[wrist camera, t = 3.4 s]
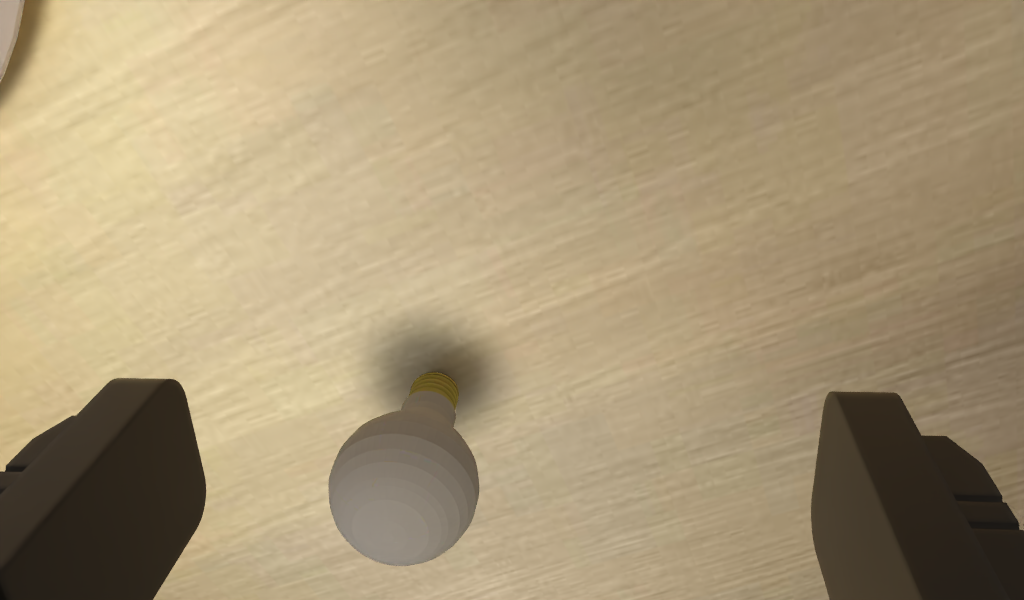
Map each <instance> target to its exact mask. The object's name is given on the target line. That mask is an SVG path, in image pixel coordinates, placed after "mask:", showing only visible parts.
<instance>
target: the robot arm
mask: <svg viewBox="0 0 1024 600" xmlns="http://www.w3.org/2000/svg"><path fill="white" fill-rule="evenodd" d="M205 499H206V482H205V476H204V471H203V467H202V463H201V458H200V454H199V450H198V445H197V441H196V437H195V433H194V428H193V424H192V420H191V415H190V411H189V407H188V403H187V398H186V395H185V392H184V390H183V388H182V386H181V384H180V383H179V382H178V381H176V380H174V379H136V378H117V379H113V380H111V381H110V382H109V383H108V384H106V386H105V387H104V388H103V389H102V390H101V391H100V392H99V393H98V394H97V395H96V396H95V397H94V398H93V399H92V400H91V401H90V402H89V403H88V404H87V405H86V406H85V407H84V408H83V409H82V410H81V411H80V412H79V413H78V415H77V416H71V417H69V418H67V419H66V420H64V421H62V422H61V423H59V424H57V425H56V426H54V427H52V428H50V429H49V430H47V431H45V432H44V433H42V434H40V435H39V436H37V437H35V438H34V439H32V440H31V441H30V442H29V443H28V444H27V445H26V446H25V447H24V448H23V449H22V450H21V451H20V452H19V453H18V454H17V455H16V456H15V457H14V458H13V459H12V460H11V461H10V462H9V463H8V464H7V465H6V470H5V472H0V600H153V598H154V597H155V595H156V594H157V592H158V590H159V589H160V587H161V585H162V584H163V582H164V581H165V579H166V577H167V576H168V574H169V573H170V571H171V569H172V568H173V566H174V565H175V563H176V561H177V560H178V558H179V556H180V555H181V553H182V552H183V550H184V548H185V547H186V545H187V544H188V542H189V540H190V539H191V537H192V536H193V534H194V532H195V531H196V529H197V527H198V525H199V523H200V521H201V518H202V515H203V511H204V506H205ZM811 522H812V534H813V541H814V546H815V551H816V554H817V558H818V561H819V564H820V568H821V571H822V575H823V578H824V581H825V585H826V588H827V591H828V595H829V598H830V600H1024V531H1023V530H1019V523H1018V521H1017V519H1016V518H1015V516H1014V514H1013V513H1012V511H1011V510H1010V508H1009V506H1008V505H1007V503H1003V502H1002V495H1001V493H1000V492H999V490H998V489H997V487H996V485H995V484H994V482H993V480H992V479H991V477H990V476H989V474H988V472H987V471H986V469H985V467H984V466H983V464H982V463H980V462H979V461H978V460H977V459H975V458H974V457H973V456H971V455H970V454H969V453H967V452H966V451H965V450H964V449H962V448H961V447H960V446H958V445H957V444H956V443H955V442H953V441H952V440H951V439H949V438H948V437H947V436H921V434H920V432H919V431H918V429H917V427H916V425H915V423H914V421H913V419H912V418H911V416H910V414H909V412H908V410H907V408H906V406H905V405H904V403H903V401H902V399H901V398H900V396H899V395H898V394H897V393H888V392H829V393H828V395H827V397H826V400H825V403H824V408H823V415H822V423H821V431H820V438H819V446H818V454H817V461H816V469H815V477H814V485H813V492H812V503H811Z"/></svg>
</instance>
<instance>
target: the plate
mask: <svg viewBox="0 0 1024 600" xmlns="http://www.w3.org/2000/svg"><path fill="white" fill-rule="evenodd" d="M24 3H25V0H0V82H1V80H2V78H3V76H4V75H5V72H6V69H7V66H8V63H9V60H10V57H11V55H12V52H13V49H14V46H15V43H16V40H17V38H18V33H19V28H20V23H21V18H22V13H23V8H24Z"/></svg>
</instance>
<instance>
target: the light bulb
mask: <svg viewBox="0 0 1024 600" xmlns="http://www.w3.org/2000/svg"><path fill="white" fill-rule="evenodd" d="M458 396H459V392H458V388H457V385H456V384H455V382H454V381H453V380H452V379H451V378H450V377H448V376H447V375H445V374H442V373H437V372H431V373H426V374H424V375H421V376H420V377H418V378H417V379H416V380H415V381H414V383H413V384H412V387H411V391H410V394H409V397H408V398H407V399H406V400H405V401H404V403H403V405H402V408H401V411H396V412H391V413H388V414H385V415H382V416H380V417H377V418H375V419H372V420H370V421H368V422H367V423H365V424H364V425H362V426H361V427H360V428H358V429H357V430H356V431H355V433H354V434H353V435H352V436H351V437H350V438H349V439H348V440H347V441H346V442H345V443H344V445H343V446H342V447H341V449H340V451H339V453H338V455H337V457H336V460H335V462H334V465H333V467H332V470H331V473H330V478H329V502H330V508H331V512H332V515H333V518H334V521H335V523H336V526H337V528H338V529H339V531H340V533H341V534H342V536H343V537H344V538H345V539H346V540H347V541H348V542H349V543H350V544H351V545H352V546H353V547H354V548H355V549H356V550H357V551H358V552H360V553H361V554H363V555H364V556H366V557H368V558H370V559H372V560H374V561H377V562H380V563H383V564H387V565H394V566H408V565H414V564H419V563H424V562H427V561H430V560H432V559H434V558H436V557H438V556H440V555H441V554H443V553H444V552H445V551H447V550H448V549H449V548H451V547H452V546H453V545H454V544H455V543H456V542H457V541H458V540H459V538H460V537H461V536H462V535H463V533H464V532H465V531H466V530H467V528H468V527H469V525H470V523H471V521H472V519H473V516H474V512H475V509H476V505H477V501H478V496H479V479H478V471H477V466H476V462H475V459H474V456H473V454H472V452H471V450H470V449H469V447H468V445H467V444H466V442H465V441H464V439H463V438H462V437H461V435H460V434H459V433H458V432H457V431H456V430H455V429H454V428H453V426H454V423H455V419H456V413H455V409H456V405H457V402H458Z"/></svg>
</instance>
